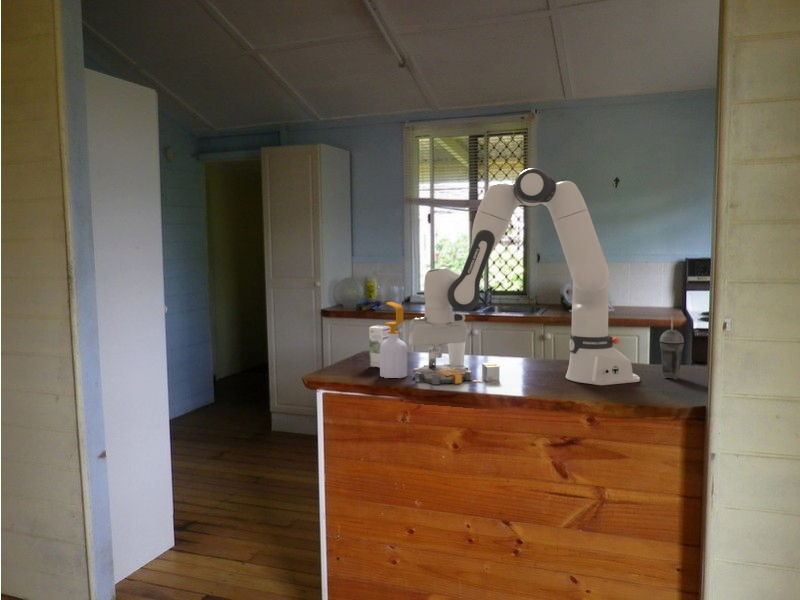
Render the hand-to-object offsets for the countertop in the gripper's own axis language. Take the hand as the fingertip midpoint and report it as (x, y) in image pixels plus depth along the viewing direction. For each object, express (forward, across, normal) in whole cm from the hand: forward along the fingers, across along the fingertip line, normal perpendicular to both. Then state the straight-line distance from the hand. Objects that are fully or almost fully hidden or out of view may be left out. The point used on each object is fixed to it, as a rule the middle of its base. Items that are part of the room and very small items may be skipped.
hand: (438, 357), depth 205 cm
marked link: (+6, +12, -14) cm, 19 cm away
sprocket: (+6, -2, -7) cm, 9 cm away
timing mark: (+6, +7, -15) cm, 17 cm away
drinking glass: (+6, +12, +11) cm, 17 cm away
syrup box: (+6, -14, +20) cm, 25 cm away
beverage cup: (+7, +65, -35) cm, 74 cm away
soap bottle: (+6, -15, +4) cm, 16 cm away
